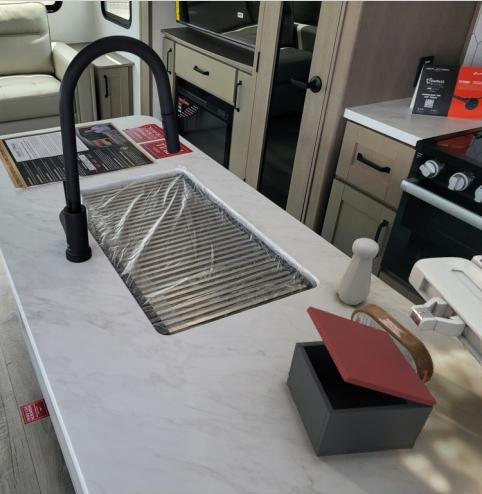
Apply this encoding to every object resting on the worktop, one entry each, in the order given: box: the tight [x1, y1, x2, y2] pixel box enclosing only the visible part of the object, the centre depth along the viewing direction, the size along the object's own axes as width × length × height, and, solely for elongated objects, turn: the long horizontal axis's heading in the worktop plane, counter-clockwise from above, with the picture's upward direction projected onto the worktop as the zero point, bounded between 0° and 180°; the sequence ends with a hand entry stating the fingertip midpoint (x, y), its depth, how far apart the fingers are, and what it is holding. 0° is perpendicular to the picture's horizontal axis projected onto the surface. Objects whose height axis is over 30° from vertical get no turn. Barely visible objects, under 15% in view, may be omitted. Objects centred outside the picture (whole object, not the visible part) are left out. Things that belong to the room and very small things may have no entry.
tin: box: [350, 303, 435, 384], centre depth 76 cm, size 15×3×8 cm, turn 22°
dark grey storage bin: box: [286, 340, 434, 457], centre depth 67 cm, size 14×13×9 cm
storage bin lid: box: [306, 305, 438, 407], centre depth 63 cm, size 14×13×1 cm
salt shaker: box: [336, 237, 380, 306], centre depth 88 cm, size 6×6×13 cm
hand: (415, 318), depth 60 cm, fingers closed
